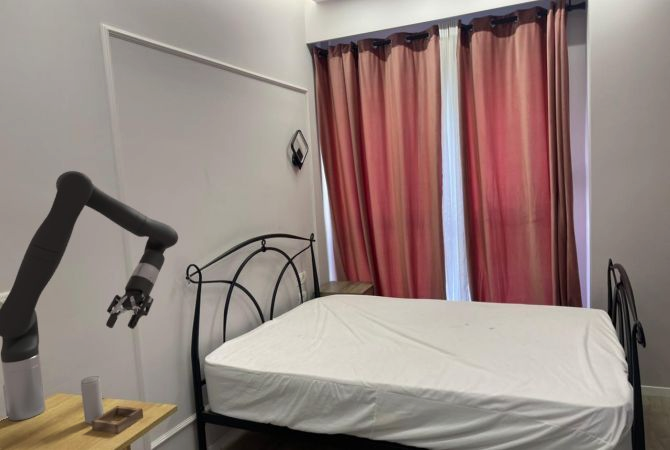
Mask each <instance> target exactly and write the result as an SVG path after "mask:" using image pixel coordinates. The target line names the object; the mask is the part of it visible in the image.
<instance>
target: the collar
mask: <svg viewBox="0 0 670 450" xmlns="http://www.w3.org/2000/svg"><path fill="white" fill-rule="evenodd" d="M118 417H122V419H120V420H119V421H118V422H116V421H113V420H115V419H116V418H118ZM143 418H144V412H143V408H139V407H130V406H123V405H122V406H121V405H116V406H115V407H113V408H111V409H109V410H108V411H106V412H105V413H104V414H103V415H101V416H99V417H98V418H96V419H94V420H93V421H92V424H91V427H92V428H91V429H92V431H97V432H103V433H110V434H117V435H119V434H121V433H123V432H124V431H126V430H127V429H128V428H130V427H131V426H133V425H134V424H136V423H137V422H139V421H140V420H142V419H143Z"/></svg>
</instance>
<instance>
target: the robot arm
mask: <svg viewBox="0 0 670 450" xmlns="http://www.w3.org/2000/svg"><path fill="white" fill-rule="evenodd" d="M55 186H56V187H55V188H56V193H55V197H54V199H53V202H52V205H51V208H50V210H49V212H48V214H47V215H46V217H45V219H44V220H43V221H42V223H41V224H40V226H39V227H38V228H37V230H36V231H35V233H34V235H33V237H32V238H31V240H30V242H29V244H28V247H27V248H26V251H25V254H24V255H23V258H22V260H21V263H20V266H19V268H18V271H17V274H16V275H15V279H14V282H13V285H12V288H11V289H10V291H9V293H8V294H7V296H6V298H5V300H4V302H3V304H2V305H1V306H0V337H1V338H2V341H1V342H2V344H1V351H0V361H1V367H2V369H1V370H2V375H3V383H4V384H3V385H2V390H3V398H4V406H5V413H6V417H7V418H8V419H9V420H10V421H23V420H27V419H30V418H34V417H35V416H38V415H40V414H41V413H43V412H44V411H45V410H46V401H45V400H46V399H45V391H44V383H43V375H42V367H41V360H40V351H39V349H40V348H39V345H40V333H39V323H38V322H39V321H38V316H37V315H38V314H37V312H36V308H37V304H38V301H39V299H40V296H41V295H42V293H43V291H44V289H45V288H47V287H46V286H47V285H48V284H49V282H50V281H51V280H52V278H53V276H54V274H55V273H56V271H57V269H58V267H59V265H60V264H61V261H62V259H63V256H64V255H65V252H66V249H67V247H68V245H69V243H70V239H71V237H72V234H73V232H74V227H75V225H76V223H77V220H78V219H79V216H80V215H81V214H82V211H83V209H84V208H85V206H86V207H88V208H90V209H92V210H94V211H96V212H97V213H99V214H101V215H102V216H104V217H105V218H107V219H108V220H110V221H111V222H112V223H114V224H116V225H117V226H119V227H121V228H122V229H123V230H125V231H127V232H129V233H130V234H133V235H134V236H137V237H139V238H141V237H142V238H144V237H145V238H146V237H147V238H148V239H147V240H146V242H145V246H144V249H143V250H144V251H143V254H142V256H141V257H140V260H139V262H138V264H137V265H136V267H135V268H134V270H133V271H132V274H131V276H130V278H129V279H128V281H127V283H126V285H125V287H124V290H125V293H124V294H123V295H122V296H120V295H118V294H116V295H115V296H114V297H113V299H112V301H111V302H110V305H109V306H108V308H107V309H106V312H107V313H109V314H110V316H109V317H108V320H106V324H105V325H106V327H108V329H113V328H114V326H115V323H116V322H117V320H118V318H119V316H121V315H122V314H124V313H126V312H127V311H133V314H132V315H131V318H130V319H129V321H128V324H127V327H128V328H129V329H131V330H134V329H135V328H136V326H137V324H138V323H139V320H140V319H141V318H142V317H143V316H145V317H146V316H148V314H149V312H150V310H151V307H152V305H153V303H154V300H155V299H154V298H153V297H152V296H151V292H153V288H154V286H155V284H156V282H157V280H158V276H159V275H160V272H161V270H162V267H163V266H164V263H165V260H166V259H165V255H164V253H165V251H166V250H167V249H169V248H171V247H175V245H176V244H177V242H178V241H179V235H178V232H177V231H176V230H175V229H174V227H172V226H171V225H168V224H166V223H164V222H161V221H158V220H155V219H153V218H150V217H148V216H147V215H145V214H143V213H141V212H140V211H138V210H137V209H135V208H133V207H131V206H130V205H128V204H125V203H124V202H122V201H120V200H118V199H116V198H114V197H113V196H111V195H109V194H107V193H106V192H104V190H103V191H102V190H101V189H100V188H99V187H97V185H95V184H94V183H93V181H92V180H91V178H90V177H89V176H88V175H86V174H85V173H83V172H80V171H77V170H69V171H65V172H63V173H62V174H60V175H59V176H58V177H57V179H56V183H55Z"/></svg>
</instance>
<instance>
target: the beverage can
mask: <svg viewBox="0 0 670 450" xmlns="http://www.w3.org/2000/svg"><path fill="white" fill-rule="evenodd" d="M80 389H81V397H82V406H83V414H84V421H85V423H86V424H88V425H92V421H93V420H94V419H96V418H98V417H99V416H101V415H103V414H104V404H103V394H102V385H101V378H100V377H99V376H98V375H91V376H88V377H85V378H82V379H81V380H80Z"/></svg>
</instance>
